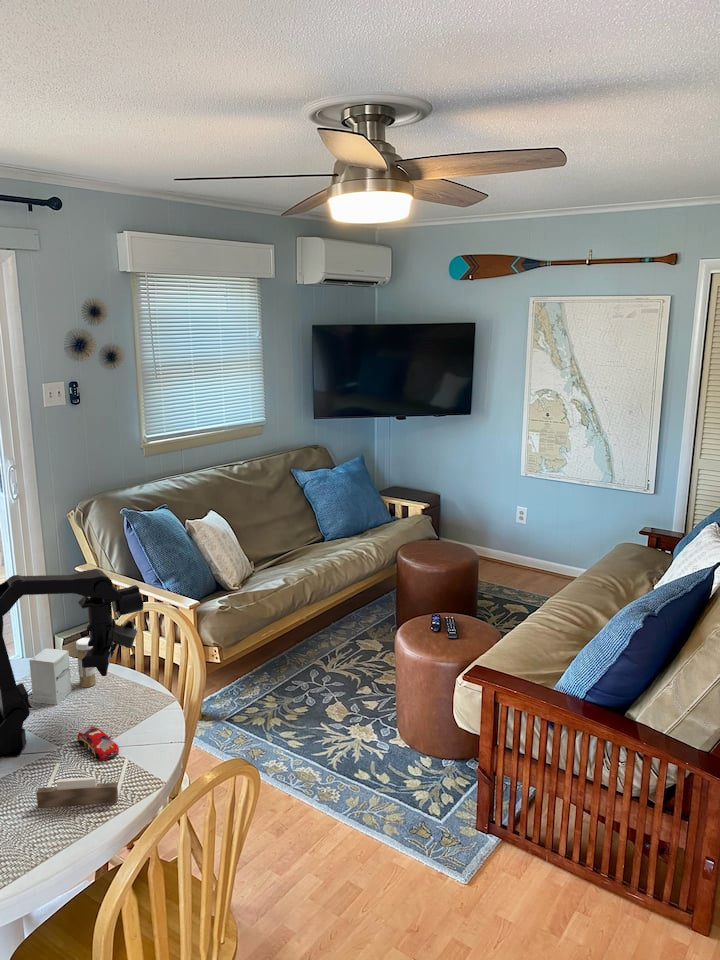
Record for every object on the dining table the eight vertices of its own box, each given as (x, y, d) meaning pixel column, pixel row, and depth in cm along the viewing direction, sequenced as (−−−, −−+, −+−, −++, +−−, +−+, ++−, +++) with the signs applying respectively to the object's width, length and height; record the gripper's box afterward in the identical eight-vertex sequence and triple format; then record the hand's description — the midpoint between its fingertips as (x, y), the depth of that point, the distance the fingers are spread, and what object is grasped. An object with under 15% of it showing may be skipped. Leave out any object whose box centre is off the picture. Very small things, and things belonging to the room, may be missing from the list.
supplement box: (56, 705, 195) (53, 662, 192) (32, 702, 197) (28, 659, 194) (72, 691, 202) (69, 650, 199) (48, 688, 204) (45, 647, 201)
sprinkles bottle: (95, 687, 205) (92, 643, 202) (78, 688, 204) (74, 645, 201) (97, 679, 209) (94, 636, 206) (80, 680, 208) (77, 637, 205)
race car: (122, 755, 175) (121, 741, 174) (101, 765, 171) (100, 751, 170) (95, 733, 184) (94, 719, 183) (75, 742, 180) (73, 728, 179)
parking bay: (37, 808, 156) (35, 784, 155) (56, 764, 171) (54, 741, 170) (116, 802, 159) (115, 778, 157) (128, 759, 173) (127, 737, 172)
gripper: (127, 634, 175) (130, 692, 179) (139, 603, 193) (142, 656, 197) (79, 636, 173) (83, 695, 177) (95, 604, 191) (99, 658, 195)
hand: (104, 675), depth 186 cm, fingers closed
